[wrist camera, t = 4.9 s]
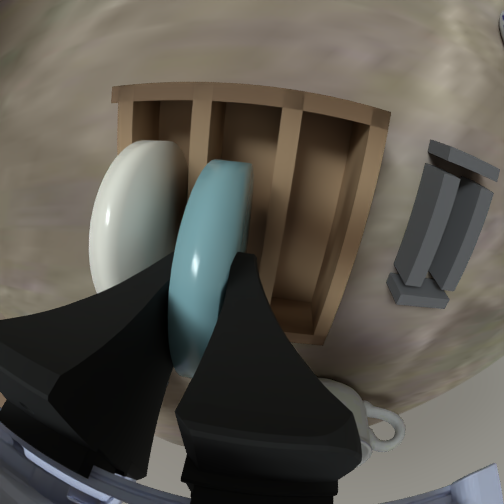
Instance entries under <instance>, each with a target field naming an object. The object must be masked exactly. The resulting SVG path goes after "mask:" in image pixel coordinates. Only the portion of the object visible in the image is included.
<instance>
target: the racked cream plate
mask: <svg viewBox="0 0 504 504" xmlns="http://www.w3.org/2000/svg"><path fill="white" fill-rule="evenodd" d="M187 203H188V166H187V162H186V159H185V156H184V154H183V151H182V150H181V148H180V147H179V146H178V145H177V144H176V143H174V142H172V141H154V140H141V141H136V142H134V143H132V144H130V145H129V146H127V147H126V148H125V149H124V150H123V151H122V152H121V153H120V154H119V155H118V156H117V157H116V159H115V160H114V161H113V163H112V164H111V166H110V167H109V169H108V171H107V173H106V174H105V176H104V179H103V181H102V183H101V186H100V188H99V191H98V194H97V197H96V200H95V204H94V208H93V213H92V217H91V224H90V233H89V259H90V268H91V274H92V279H93V282H94V286H95V289H96V292H97V294H98V293H100V292H102V291H104V290H106V289H109V288H111V287H113V286H115V285H117V284H119V283H121V282H123V281H125V280H127V279H128V278H130V277H132V276H134V275H135V274H137V273H139V272H141V271H142V270H144V269H146V268H148V267H149V266H151V265H152V264H154V263H156V262H157V261H159V260H160V259H162V258H164V257H165V256H167V255H168V254H170V253H172V252H173V251H175V246H176V242H177V238H178V233H179V229H180V225H181V222H182V218H183V215H184V212H185V208H186V205H187Z"/></svg>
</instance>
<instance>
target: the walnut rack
mask: <svg viewBox="0 0 504 504" xmlns="http://www.w3.org/2000/svg"><path fill="white" fill-rule="evenodd" d="M111 103H118V135H117V146H118V155H119V154H120V153H121V152H122V151H123V150H124V149H125V148H126V147H127V146H129V145H130V144H132V143H134V142H136V141H141V140H154V141H172V142H174V143H176V144H177V145H178V146H179V147H180V148H181V150H182V151H183V154H184V156H185V159H186V162H187V166H188V200H189V197H190V194H191V192H192V189H193V187H194V185H195V183H196V181H197V179H198V177H199V175H200V173H201V172H202V170H203V169H204V167H205V166H206V165H207V164H208V163H209V162H210V161H211V160H214V159H219V160H228V161H237V162H246V163H251V164H252V166H253V174H254V182H253V200H252V211H251V221H250V230H249V238H248V246H247V253H250V254H255V256H256V257H257V267H258V272H259V276H260V280H261V283H262V286H263V289H264V292H265V294H266V297H267V299H268V302H269V304H270V306H271V309H272V311H273V313H274V315H275V317H276V319H277V321H278V323H279V324H280V326H281V328H282V330H283V331H284V333H285V335H286V336H287V338H288V339H289V341H290V342H294V343H303V344H312V345H322V346H323V344H324V342H325V340H326V337H327V335H328V332H329V330H330V327H331V325H332V322H333V320H334V317H335V315H336V312H337V309H338V307H339V304H340V301H341V299H342V296H343V293H344V290H345V287H346V285H347V282H348V279H349V276H350V273H351V270H352V267H353V264H354V261H355V258H356V255H357V252H358V248H359V245H360V242H361V239H362V235H363V232H364V229H365V225H366V222H367V218H368V214H369V211H370V207H371V203H372V200H373V196H374V192H375V188H376V184H377V180H378V175H379V171H380V167H381V162H382V158H383V153H384V148H385V143H386V138H387V133H388V127H389V122H390V116H391V112H389V111H385V110H382V109H379V108H375V107H372V106H368V105H364V104H360V103H356V102H352V101H348V100H344V99H340V98H335V97H331V96H326V95H321V94H315V93H310V92H304V91H298V90H292V89H285V88H277V87H269V86H260V85H250V84H237V83H219V82H163V83H146V84H133V85H123V86H114V87H112V100H111Z"/></svg>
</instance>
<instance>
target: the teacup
mask: <svg viewBox="0 0 504 504" xmlns="http://www.w3.org/2000/svg"><path fill="white" fill-rule="evenodd" d="M318 379H319V380H320V381H321V382H322V383H323V384H324V386H325V387H326V388H327V389H328V390H329V391H330V392H331V393H332V394H333V395H334V396H336V397H337V398H338V399H339V400H340V401H341V402H342V403H343V404H344V405H345V406H346V407H347V408H348V409H350V410H351V411H352V412H353V414H354V417H355V421H356V424H357V428H358V432H359V436H360V440H361V447H362V461H361V463H360V464H359V465H358V466H360V465H362V464H363V463H364V462H366V461H367V460H368V459H369V458H370V456H371V454H372V450H374V451H378V452H387V451H390V450H393V449H394V448H396V447H397V446H398V445H399V444H400V443H401V442H402V440H403V438H404V435H405V424H404V422H403V420H402V418H401V417H400V416H399V415H398V414H396V413H394V412H393V411H390V410H387V409H384V408H380V407H376V406H373V405H372V404H371V403H370V402H368V401H366V400H365V401H362V399H361V397H360V396H359V395H358V393H357V392H356V391H355V390H353V389H352V388H351V387H349V386H347V385H345V384H342V383H340V382H336V381H334V380H331V379H326V378H318ZM367 417H372V418H377V419H381V420H384V421H386V422H388V423H389V424H391V425H392V426H393V427H394V429H395V435H394V437H393V438H392V439H390V440H387V441H383V440H380V439H378V438H377V437H376V436H375V434H374V432H373V430H372V429H371V428H369V427H368V420H367ZM358 466H357V467H358Z"/></svg>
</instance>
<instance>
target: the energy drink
mask: <svg viewBox="0 0 504 504" xmlns="http://www.w3.org/2000/svg"><path fill="white" fill-rule="evenodd" d="M499 27H500V33H501V36H502V39H503V42H504V10H503V11H502V13H501V15H500V19H499Z"/></svg>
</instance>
